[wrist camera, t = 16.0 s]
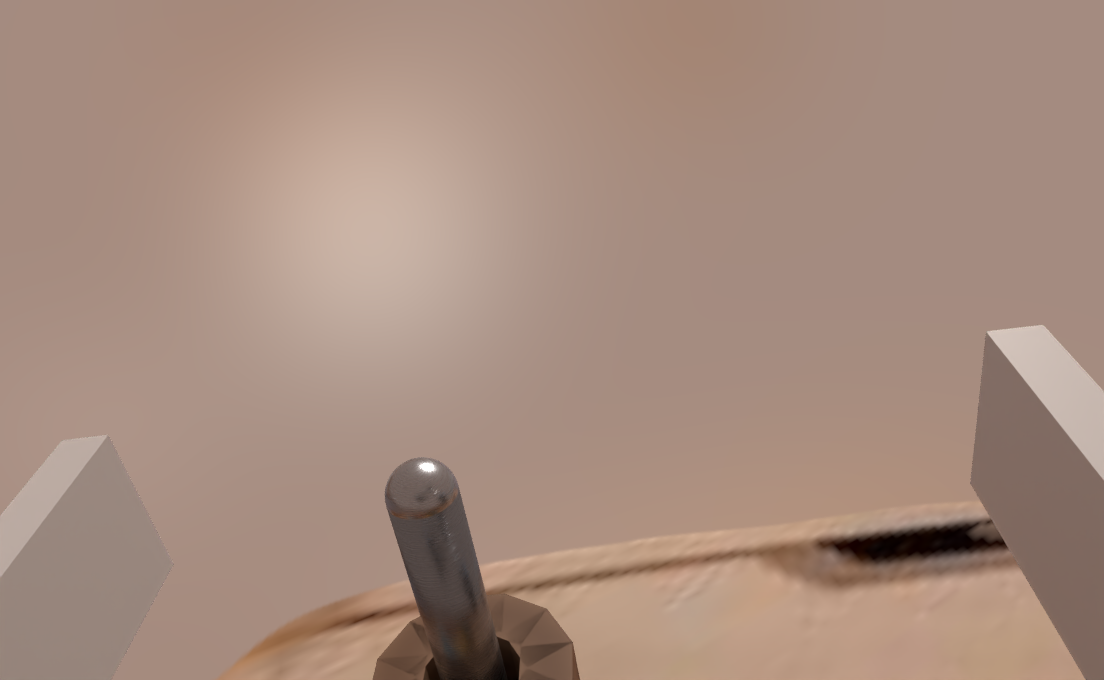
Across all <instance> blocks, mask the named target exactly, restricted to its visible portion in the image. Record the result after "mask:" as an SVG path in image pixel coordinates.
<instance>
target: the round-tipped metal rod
mask: <svg viewBox="0 0 1104 680" xmlns="http://www.w3.org/2000/svg"><path fill="white" fill-rule="evenodd" d="M385 502H386V507H387V510H388V513H389V516H390V520H391V522H392V526H393V529H394V532H395V536H396V539H397V542H398V545H399V548H400V551H401V555H402V558H403V561H404V564H405V568H406V571H407V574H408V577H409V580H410V584H411V587H412V590H413V593H414V596H415V600H416V603H417V606H418V609H419V612H420V616H421V619H422V622H423V625H424V629H425V632H426V635H427V638H428V641H429V645H430V648H431V651H432V654H433V657H434V661H435V664H436V667H437V670H438V673H439V677H440V680H508V679H507V675H506V671H505V667H504V663H503V659H502V655H501V651H500V647H499V644H498V640H497V636H496V632H495V628H494V624H493V620H492V616H491V612H490V608H489V604H488V600H487V596H486V593H485V589H484V585H483V581H482V577H481V573H480V569H479V565H478V561H477V557H476V553H475V549H474V546H473V542H472V538H471V534H470V530H469V526H468V522H467V518H466V514H465V510H464V506H463V503H462V498H461V494H460V491H459V487H458V483H457V481H456V478H455V476H454V474H453V473H452V472H451V470H450V469H449V468H448V467H447V466H445V465H444V464H443V463H441V462H440V461H437V460H435V459H431V458H424V457H423V458H422V457H421V458H414V459H411V460H408V461H406V462H404V463H403V464H401V465H400V466H399V467H397V468H396V469H395V470H394V472H393V473H392V474H391V476H390V478H389V480H388V482H387V485H386V489H385Z"/></svg>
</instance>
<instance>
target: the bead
mask: <svg viewBox="0 0 1104 680" xmlns="http://www.w3.org/2000/svg"><path fill="white" fill-rule="evenodd" d="M487 600H488V604H489V608H490V612H491V616H492V620H493V624H494V628H495V632H496V636H497V640H498V644H499V647H500V651H501V655H502V659H503V663H504V667H505V671H506V675H507V679H508V680H580V678H579V673H578V668H577V663H576V658H575V652H574V647H573V642H572V641H571V640H570V638H569V637H568V636H567V634H566V633H565V632H564V631H563V629H562V628H561V627H560V625H559V624H558V623H557V621H556V620H555V619H554V618H553V616H552V615H551V614H550V612H549V611H548V610H547V609H546V608H543V607H540V606H537V605H535V604H532V603H529V602H526V601H523V600H521V599H518V598H515V597H512V596H509V595H507V594H497V595H487ZM373 680H440V677H439V673H438V670H437V667H436V664H435V661H434V657H433V654H432V651H431V648H430V645H429V641H428V638H427V635H426V632H425V629H424V625H423V622H422V619H421V616H420V617H418V618H416V619H414V620H412V621H410V622H409V623H408V625H407V626H406V627H405V628H404V629H403V630H402V631H401V633H400V634H399V635H398V636H397V637H396V638H395V640H394V641H393V642H392V643H391V644H390V645H389V646H388V648H387V649H386V650H385V651H384V652H383V653H382V655H381V656H380V657H379V658H378V659H377V663H376V668H375V672H374V676H373Z"/></svg>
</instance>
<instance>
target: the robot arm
mask: <svg viewBox="0 0 1104 680" xmlns="http://www.w3.org/2000/svg"><path fill="white" fill-rule="evenodd" d="M970 483H971V485H972V487H973V489H974V490H975V492H976V493H977V495H978V497H979V499H980V501H981V502H982V504H983V506H984V507H985V509H986V511H987V512H988V514H989V516H990V518H991V519H992V521H993V523H994V524H995V526H996V528H997V529H998V531H999V533H1000V535H1001V536H1002V538H1003V540H1004V541H1005V543H1006V545H1007V546H1008V548H1009V550H1010V552H1011V553H1012V555H1013V557H1014V558H1015V560H1016V562H1017V563H1018V565H1019V567H1020V569H1021V570H1022V572H1023V574H1024V575H1025V577H1026V579H1027V581H1028V582H1029V584H1030V586H1031V587H1032V589H1033V591H1034V592H1035V594H1036V596H1037V598H1038V599H1039V601H1040V603H1041V604H1042V606H1043V608H1044V609H1045V611H1046V613H1047V615H1048V616H1049V618H1050V620H1051V621H1052V623H1053V625H1054V626H1055V628H1056V630H1057V632H1058V633H1059V635H1060V637H1061V638H1062V640H1063V642H1064V643H1065V645H1066V647H1067V649H1068V650H1069V652H1070V654H1071V655H1072V657H1073V659H1074V660H1075V662H1076V664H1077V666H1078V667H1079V669H1080V671H1081V672H1082V674H1083V676H1084V677H1085V679H1086V680H1104V391H1103V390H1102V389H1101V388H1100V387H1099V386H1098V385H1097V383H1096V382H1095V381H1094V380H1093V379H1092V378H1091V377H1090V376H1089V375H1088V374H1087V372H1086V371H1085V370H1084V369H1083V368H1082V367H1081V366H1080V365H1079V364H1078V363H1077V362H1076V360H1075V359H1074V358H1073V357H1072V356H1071V355H1070V354H1069V353H1068V352H1067V351H1066V349H1065V348H1064V347H1063V346H1062V345H1061V344H1060V343H1059V342H1058V341H1057V340H1056V339H1055V337H1054V336H1053V335H1052V334H1051V333H1050V332H1049V331H1048V330H1047V329H1046V328H1045V326H1043V325H1038V326H1030V327H1021V328H1012V329H1004V330H995V331H987V332H986V338H985V347H984V357H983V366H982V377H981V386H980V396H979V406H978V415H977V424H976V434H975V444H974V453H973V463H972V472H971V482H970ZM173 565H174V564H173V562H172V560H171V558H170V556H169V554H168V552H167V550H166V548H165V546H164V544H163V542H162V540H161V538H160V536H159V534H158V532H157V530H156V528H155V526H154V524H153V522H152V520H151V518H150V516H149V514H148V512H147V510H146V508H145V506H144V504H143V502H142V500H141V498H140V497H139V494H138V493H137V491H136V489H135V487H134V485H133V483H132V481H131V479H130V477H129V475H128V473H127V471H126V469H125V467H124V465H123V463H122V461H121V459H120V457H119V455H118V453H117V451H116V449H115V447H114V445H113V443H112V441H111V439H110V437H109V435H104V436H94V437H86V438H78V439H69V440H62V441H61V442H60V444H59V445H58V446H57V447H56V448H55V450H54V451H53V452H52V453H51V455H50V456H49V457H48V458H47V459H46V461H45V462H44V463H43V464H42V466H41V467H40V468H39V469H38V470H37V472H36V473H35V474H34V475H33V476H32V478H31V479H30V480H29V482H27V484H26V485H25V486H24V487H23V489H22V490H21V491H20V492H19V493H18V495H17V496H16V497H15V498H14V500H13V501H12V502H11V503H10V504H9V506H8V507H7V508H6V509H5V510H4V512H3V513H2V514H1V515H0V680H111V679H112V678H113V676H114V674H115V672H116V670H117V668H118V667H119V665H120V663H121V661H122V659H123V657H124V655H125V654H126V652H127V650H128V648H129V646H130V644H131V642H132V641H133V639H134V637H135V635H136V633H137V631H138V629H139V628H140V626H141V624H142V622H143V620H144V618H145V616H146V614H147V613H148V611H149V609H150V607H151V605H152V604H153V602H154V600H155V598H156V596H157V594H158V592H159V590H160V588H161V587H162V585H163V583H164V581H165V579H166V577H167V576H168V574H169V572H170V570H171V568H172V566H173Z"/></svg>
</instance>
